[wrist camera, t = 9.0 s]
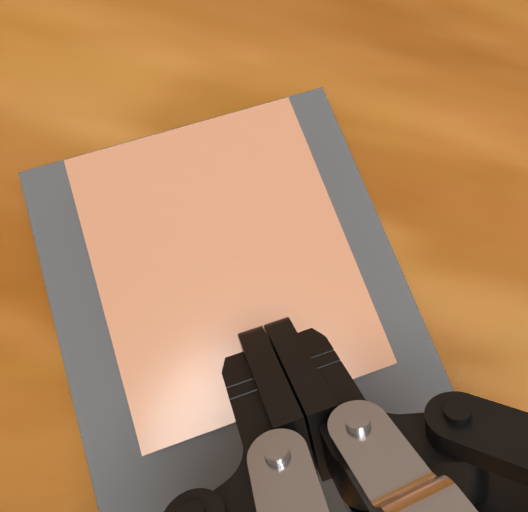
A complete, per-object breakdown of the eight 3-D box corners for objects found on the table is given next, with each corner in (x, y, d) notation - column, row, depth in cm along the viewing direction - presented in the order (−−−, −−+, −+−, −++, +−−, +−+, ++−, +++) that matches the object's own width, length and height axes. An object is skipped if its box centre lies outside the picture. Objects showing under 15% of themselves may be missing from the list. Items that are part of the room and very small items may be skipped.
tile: (397, 362, 17) (288, 97, 20) (142, 456, 16) (63, 160, 19) (377, 367, 20) (283, 131, 23) (155, 449, 19) (84, 189, 21)
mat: (486, 482, 19) (494, 484, 19) (132, 627, 18) (128, 635, 17) (320, 94, 24) (322, 87, 23) (24, 178, 22) (18, 172, 21)
